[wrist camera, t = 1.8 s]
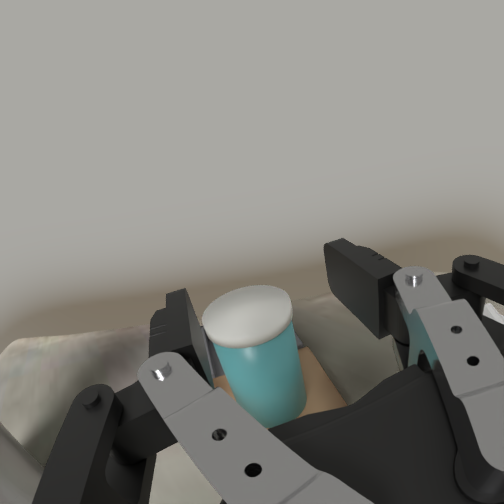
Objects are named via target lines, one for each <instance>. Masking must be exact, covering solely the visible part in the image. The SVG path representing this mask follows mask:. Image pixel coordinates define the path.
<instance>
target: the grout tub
mask: <svg viewBox="0 0 504 504" xmlns="http://www.w3.org/2000/svg"><path fill="white" fill-rule="evenodd" d="M292 316H293V310H292V305H291V300H290V297H289V295H288V294H287V293H286V292H285V291H284V290H282V289H280V288H278V287H274V286H269V285H255V286H247V287H243V288H239V289H236V290H233V291H230V292H228V293H226V294H224V295H222V296H220V297H219V298H217V299H216V300H214V301H213V302H212V303H211V304H210V305H209V306H208V307H207V308H206V309H205V311H204V313H203V316H202V323H203V326H204V329H205V331H206V334H207V336H208V338H209V339H210V340H211V341H212V342H213V345H214V347H215V350H216V353H217V355H218V358H219V360H220V363H221V365H222V368H223V370H224V373H225V375H226V378H227V380H228V383H229V385H230V388H231V390H232V393H233V395H234V397H235V400H236V402H237V403H238V404H239V405H240V406H241V407H242V408H243V409H245V410H246V411H247V412H248V413H249V414H250V415H251V416H252V417H253V418H255V419H256V420H257V421H258V422H259V423H260V424H261V425H262V426H264V427H265V428H272V427H275V426H278V425H280V424H283V423H286V422H289V421H291V420H294V419H296V418H297V417H298V416H299V415H300V414H301V413H302V411H303V410H304V408H305V405H306V401H307V396H306V390H305V385H304V380H303V375H302V369H301V364H300V359H299V354H298V349H297V344H296V338H295V333H294V328H293V323H292Z"/></svg>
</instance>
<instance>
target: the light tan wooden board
mask: <svg viewBox="0 0 504 504" xmlns="http://www.w3.org/2000/svg"><path fill="white" fill-rule="evenodd" d="M298 354H299V359H300V364H301V369H302V375H303V380H304V385H305V390H306V396H307V401H306V405H305V408H304V410H303V411H302V413H301V414H300V415H299V416H298V417H297V418H299V417H302V416H305V415H307V414H312V413H317V412H322V411H327V410H332V409H336V408H341V407H345V406H348V405H347V404H346V402H345V401H344V399H343V398H342V396H341V395H340V393H339V392H338V390H337V389H336V387H335V386H334V384H333V383H332V382H331V380H330V379H329V377H328V376H327V374H326V373H325V371H324V370H323V368H322V367H321V365H320V364H319V362H318V361H317V359H316V358H315V356H314V355H313V353H312V352H311V350H310V349H309V347H308V346H307V347H304V348H302V349H299V350H298ZM213 383H214V387H215V388H216V387H220V388H222V389H223V390H224V391H225V392H226V393H227V394H228V395H229V396H230V397H232V398H233V399H234V400H235V397H234V395H233V393H232V390H231V388H230V385H229V383H228V380H227V378H226V375H223V376H219V377H216V378H213ZM235 401H236V400H235ZM297 418H296V419H297ZM266 429H267V430H268V429H269V428H266Z"/></svg>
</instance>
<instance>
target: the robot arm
mask: <svg viewBox="0 0 504 504" xmlns="http://www.w3.org/2000/svg"><path fill="white" fill-rule="evenodd" d="M324 256H325V263H326V270H327V277H328V283H329V286H330V289H331V291H332V293H333V294H334V295H335V296H336V297H337V298H338V299H339V300H340V301H341V302H342V303H343V304H344V305H345V306H346V307H347V308H348V309H349V310H350V311H351V312H352V313H353V314H354V315H355V316H356V317H357V318H358V319H359V320H360V321H361V322H362V323H363V324H364V325H365V326H366V327H367V328H368V329H369V330H370V331H371V332H372V333H373V334H374V335H375V336H376V337H377V338H378V339H381V338H383V337H385V336H387V335H390V334H391V335H392V336H393V344H392V345H393V349H394V353H395V356H396V359H397V363H398V366H399V370H400V372H398V373H396V374H394V375H393V376H391V377H389V378H387V379H385V380H383V381H382V382H381V383H380V384H378V385H377V386H376V387H375V388H373V389H372V390H371V391H370V392H368V393H367V394H366V395H365V396H363V397H362V398H361V399H360V400H358V401H357V402H356V403H354V404H352V405H349V406H345V407H341V408H336V409H332V410H327V411H322V412H317V413H312V414H307V415H305V416H302V417H299V418H297V419H294V420H291V421H289V422H286V423H283V424H280V425H278V426H275V427H272V428H269V429H268V430H267V429H266V428H265V427H264V426H262V425H261V424H260V423H259V422H258V421H257V420H256V419H255V418H253V417H252V416H251V415H250V414H249V413H248V412H247V411H246V410H245V409H243V408H242V407H241V406H240V405H239V404H238V403H237V402H236V401H235V400H234V399H233V398H232V397H230V396H229V395H228V394H227V393H226V392H225V391H224V390H223V389H222V388H220V387H216V388H215V387H214V383H213V379H212V374H211V370H210V365H209V361H208V356H207V351H206V347H205V342H204V337H203V334H202V331H201V328H200V325H199V322H198V319H197V317H196V314H195V311H194V309H193V306H192V303H191V301H190V298H189V295H188V293H187V291H186V288H184V289H181V290H177V291H174V292H171V293H168V294H166V308H164V309H161V310H157V311H156V312H155V314H154V315H153V317H152V318H151V322H150V339H149V359H147V360H146V361H145V362H144V363H143V364H142V365H141V366H140V368H139V370H138V373H137V377H138V381H137V382H135V383H134V384H132V385H130V386H129V387H127V388H125V389H123V390H121V391H119V392H116V393H114V391H113V390H112V389H111V387H109V386H107V385H104V384H97V385H93V386H90V387H88V388H86V389H84V390H83V391H81V392H80V393H79V394H78V395H77V396H76V398H75V399H74V401H73V403H72V405H71V407H70V409H69V412H68V414H67V416H66V418H65V421H64V423H63V425H62V427H61V430H60V432H59V434H58V437H57V439H56V441H55V444H54V446H53V449H52V451H51V454H50V456H49V459H48V461H47V464H46V466H45V468H44V467H43V466H42V465H41V464H40V463H39V462H38V461H37V460H36V459H35V458H34V457H33V456H32V455H31V454H30V453H29V452H28V451H27V450H26V449H25V448H24V447H23V446H22V445H21V444H20V443H19V442H18V441H17V440H16V439H15V438H14V437H13V436H12V435H11V433H10V432H9V431H8V430H7V429H6V428H5V427H4V426H3V424H2V423H1V422H0V504H149V498H150V492H151V485H152V479H153V473H154V467H155V462H156V455H157V454H156V453H157V452H159V451H161V450H163V449H165V448H167V447H169V446H171V445H173V444H175V443H177V442H179V443H180V445H181V446H182V447H183V449H184V450H185V451H186V453H187V454H188V456H189V457H190V458H191V460H192V461H193V462H194V464H195V465H196V466H197V467H198V469H199V470H200V471H201V473H202V474H203V475H204V476H205V478H206V479H207V480H208V481H209V483H210V484H211V485H212V486H213V488H214V489H215V490H216V491H217V492H218V494H219V495H220V496H221V497H222V498H223V499H222V501H221V503H220V504H504V324H501V323H499V322H497V321H495V320H493V319H491V318H489V317H487V316H484V315H483V311H484V305H485V299H486V298H488V299H490V300H492V301H495V302H497V303H499V304H502V305H504V265H502V264H500V263H497V262H494V261H491V260H488V259H485V258H482V257H479V256H475V255H463V256H459V257H457V258H456V259H455V260H454V261H453V265H452V273H447V274H443V275H438V276H435V275H434V273H433V272H432V271H431V270H429V269H427V268H424V267H419V266H410V267H405V268H401V267H400V266H398V265H396V264H395V263H393V262H392V261H390V260H388V259H387V258H384V257H383V256H382V255H380V254H378V253H377V252H375V251H373V250H372V249H370V248H367V247H362V246H355V245H354V244H352V243H351V242H349V241H347V240H345V239H344V238H341V239H338V240H335V241H332V242H329V243H326V244H324Z"/></svg>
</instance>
